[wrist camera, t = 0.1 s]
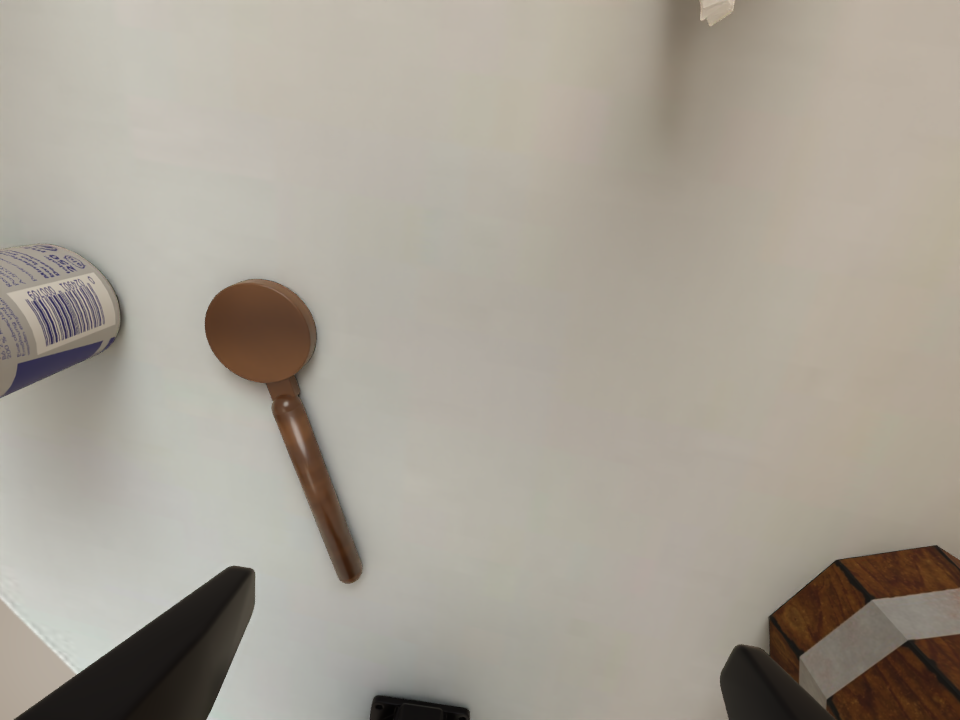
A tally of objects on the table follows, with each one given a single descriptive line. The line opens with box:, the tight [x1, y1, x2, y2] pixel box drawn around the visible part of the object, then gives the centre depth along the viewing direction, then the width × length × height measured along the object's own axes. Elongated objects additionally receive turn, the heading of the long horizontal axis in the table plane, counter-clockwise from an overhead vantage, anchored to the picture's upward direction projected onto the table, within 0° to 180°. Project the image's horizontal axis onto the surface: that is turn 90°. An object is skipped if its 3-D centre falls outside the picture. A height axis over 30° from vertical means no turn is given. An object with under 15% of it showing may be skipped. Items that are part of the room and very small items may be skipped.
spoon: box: [205, 279, 362, 584], centre depth 24 cm, size 17×5×1 cm, turn 11°
